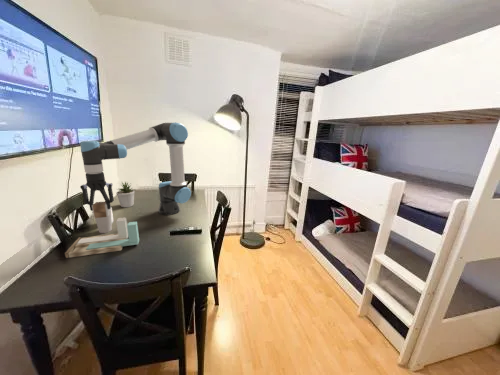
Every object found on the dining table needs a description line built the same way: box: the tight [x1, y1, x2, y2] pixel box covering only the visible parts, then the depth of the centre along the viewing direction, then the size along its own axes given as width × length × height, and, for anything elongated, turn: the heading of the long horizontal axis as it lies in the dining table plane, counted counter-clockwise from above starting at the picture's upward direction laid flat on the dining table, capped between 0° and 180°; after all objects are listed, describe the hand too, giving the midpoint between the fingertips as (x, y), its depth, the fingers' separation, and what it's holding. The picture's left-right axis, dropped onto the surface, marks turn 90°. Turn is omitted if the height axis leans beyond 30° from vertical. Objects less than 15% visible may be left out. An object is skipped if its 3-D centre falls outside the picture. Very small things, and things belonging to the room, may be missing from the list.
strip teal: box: [86, 221, 140, 250], centre depth 109 cm, size 23×5×11 cm, turn 109°
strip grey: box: [77, 217, 129, 244], centre depth 114 cm, size 23×5×11 cm, turn 109°
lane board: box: [64, 233, 125, 259], centre depth 112 cm, size 23×16×3 cm
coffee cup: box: [91, 208, 113, 234], centre depth 127 cm, size 10×10×15 cm
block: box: [93, 201, 107, 219], centre depth 111 cm, size 5×5×7 cm
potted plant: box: [115, 182, 136, 208], centre depth 168 cm, size 13×14×20 cm
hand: (101, 215), depth 112 cm, fingers closed on block, 5 cm apart
